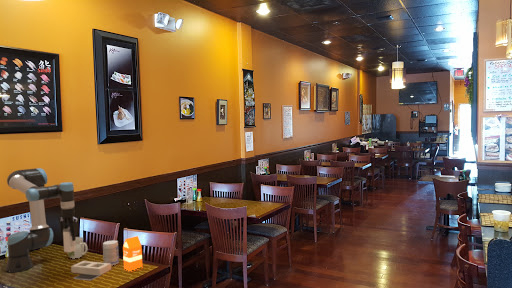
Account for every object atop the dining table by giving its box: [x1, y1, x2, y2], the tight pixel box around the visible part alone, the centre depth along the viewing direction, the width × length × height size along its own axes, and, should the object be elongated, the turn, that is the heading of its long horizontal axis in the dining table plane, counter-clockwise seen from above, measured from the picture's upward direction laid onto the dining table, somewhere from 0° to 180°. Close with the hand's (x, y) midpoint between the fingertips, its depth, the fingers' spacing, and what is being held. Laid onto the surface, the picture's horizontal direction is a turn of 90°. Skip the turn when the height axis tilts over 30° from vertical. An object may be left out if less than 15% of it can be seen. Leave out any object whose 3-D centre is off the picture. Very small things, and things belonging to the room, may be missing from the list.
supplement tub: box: [102, 240, 120, 267], centre depth 255 cm, size 10×10×15 cm
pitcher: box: [67, 236, 88, 260], centre depth 272 cm, size 11×18×14 cm, turn 72°
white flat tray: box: [70, 260, 112, 276], centre depth 243 cm, size 22×10×4 cm, turn 72°
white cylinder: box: [62, 226, 76, 253], centre depth 235 cm, size 5×5×14 cm
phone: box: [73, 273, 101, 281], centre depth 233 cm, size 7×13×1 cm, turn 72°
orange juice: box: [122, 235, 143, 272], centre depth 245 cm, size 8×9×20 cm
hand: (69, 245), depth 236 cm, fingers closed on white cylinder, 4 cm apart
